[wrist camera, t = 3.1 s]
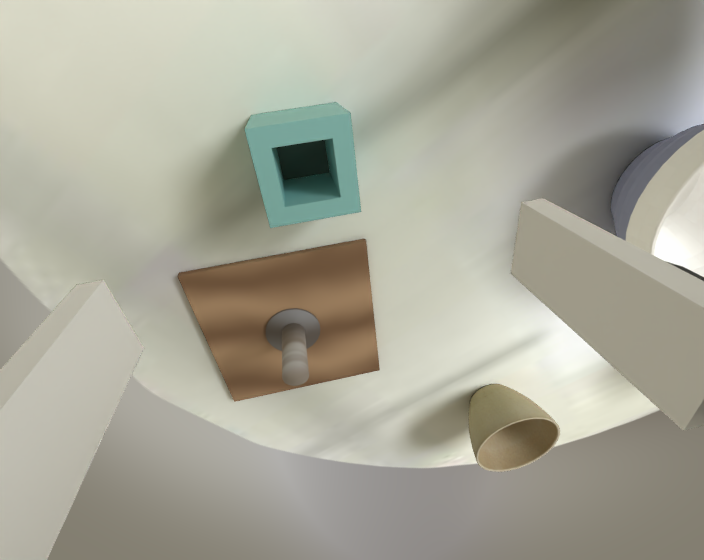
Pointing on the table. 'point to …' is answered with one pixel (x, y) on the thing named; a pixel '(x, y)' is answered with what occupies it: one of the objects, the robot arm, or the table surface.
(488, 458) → the flower pot
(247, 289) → the post block
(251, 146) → the collar
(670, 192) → the bowl
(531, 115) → the table surface
